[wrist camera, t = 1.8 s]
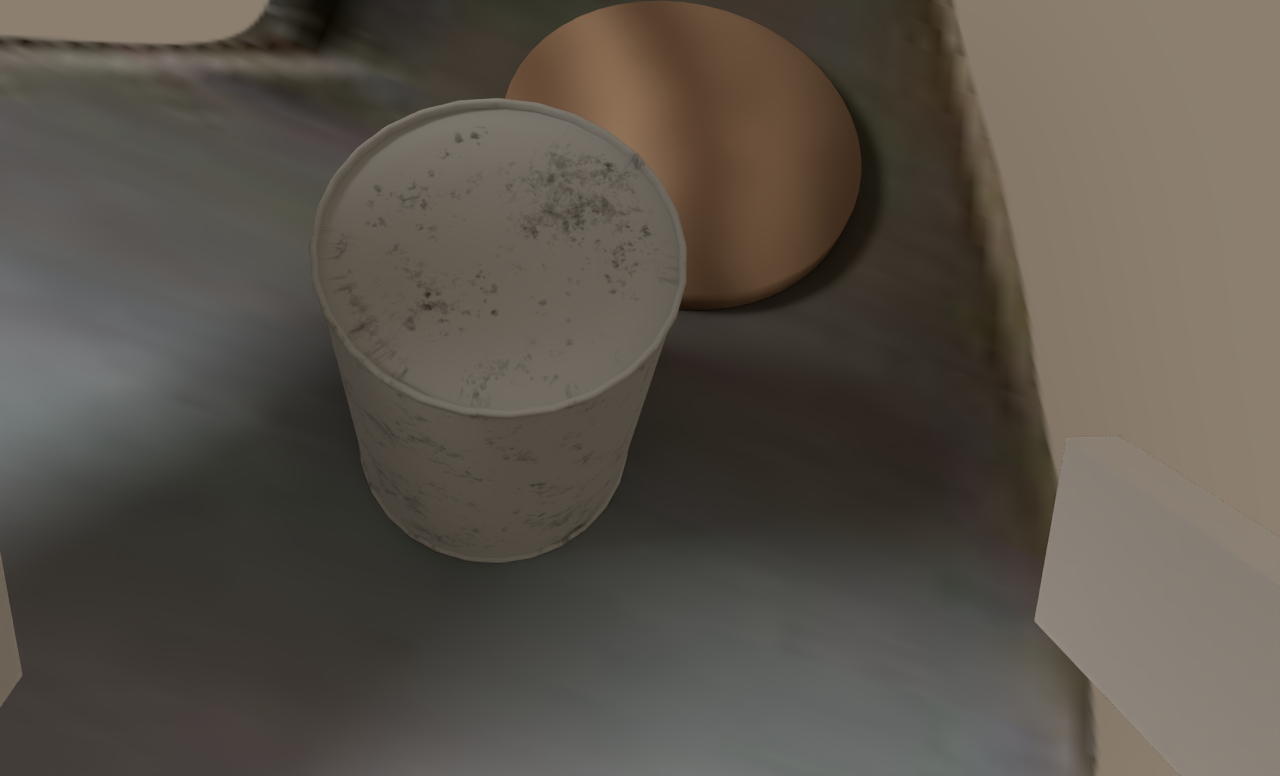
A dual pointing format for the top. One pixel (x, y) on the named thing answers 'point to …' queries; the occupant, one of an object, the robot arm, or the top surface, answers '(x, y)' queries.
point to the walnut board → (713, 135)
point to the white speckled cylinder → (496, 318)
